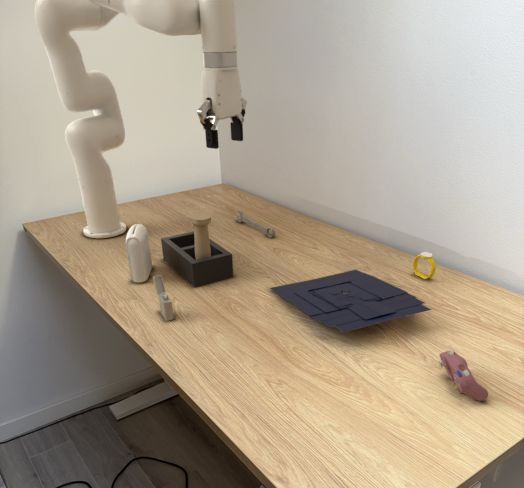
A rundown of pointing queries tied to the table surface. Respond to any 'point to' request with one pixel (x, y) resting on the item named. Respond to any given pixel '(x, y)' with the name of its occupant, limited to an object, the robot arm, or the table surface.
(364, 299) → the navy flat block
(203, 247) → the handle
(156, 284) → the lighter
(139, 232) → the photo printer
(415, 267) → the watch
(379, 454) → the table surface
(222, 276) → the holder
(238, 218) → the combination wrench
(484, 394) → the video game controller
